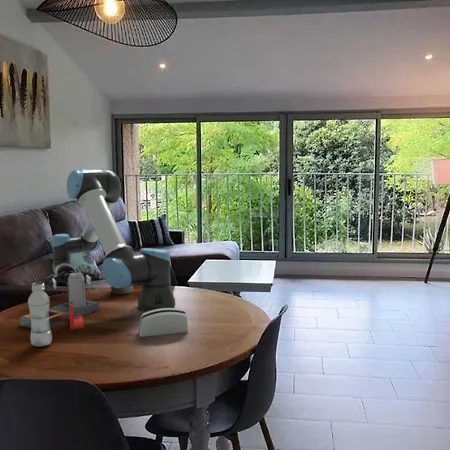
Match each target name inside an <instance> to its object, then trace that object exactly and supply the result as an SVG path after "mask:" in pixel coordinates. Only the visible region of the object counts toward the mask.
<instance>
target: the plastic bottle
mask: <svg viewBox="0 0 450 450" xmlns="http://www.w3.org/2000/svg"><path fill="white" fill-rule="evenodd" d="M45 290H46V289H45V285H44V282H34V283H32V284H31V291H32V292H31V294H30V295H29V297H28V300H27V302H28V303H27V304H28V308H29V314H31V328H30V329H31V330H30V339H29V340H30V344H31V345H32V346H33V347H37V348H38V347H39V348H40V347H46V346H49V345H50V344H51V343H52V340H53V334H52V329H51V327H50V324H49V308H50V304H51V303H50V301H51V300H50V296H49V295H48V294H47V292H45Z"/></svg>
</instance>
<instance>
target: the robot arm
mask: <svg viewBox="0 0 450 450" xmlns="http://www.w3.org/2000/svg"><path fill="white" fill-rule="evenodd" d="M66 193H67V195H68V198H70V199H72V200H76V201H77V203H78V205H79V206H80V207H82V208H84V209H85V211H86V213H87V215H88V216H87V217H88V218H87V221H86V224H85V225H84V228H83V230H82V232H81V235H80V236H73V237H70V235H69V233H57V234H54V235H53V236H52V238H51V239H52V243H51V244H52V245H51V246H52V256H53V257H52V271H53V273H50V275H47V276H46V277H45V278H44V279H43V283H44V286H49V288H52V287H53V289H57V283H64V284H68V278H69V276H70V274H71V273H83V274H82V275H83V276H84V281H86V283H87V285H89V286H92V282H93V281H95V276H96V275H95V273H91V272H86V271H83V270H80V271H79V272H78V271H76V270H75V269H74V268H73V266H72V265H71V255H73V254H79V253H87V252H88V253H90V252H94V251H98V250H99V249H100V248H101V247H102V249H103V252H104V254H105V255H104V258H103V262H102V265H101V270H102V276H103V278H104V280H105V282H106V283H107V284H108V285H109V286H110V287H111V286H112V287H114V288H126V287H128V286H133V287H134V286H137V285H141V286H140V287H141V288H140V290H139V291H140V292H139V294H138V299H137V301H136V305H137V306H136V307H137V309H139V310H142V311H146V312H149V311H152V310H156V309H162V308H175V307H176V299H175V295H174V293H173V289H172V287H171V255H170V252H169V251H168V250H167V249H162V248H154V247H153V248H152V247H151V248H150V247H149V248H148V247H147V248H146V247H143V248H140V250H139V253H135V252H134V251H135V250H134V249H133V248H132V246H130V245H127V244H126V242H125V239H124V238H123V236H122V233H121V231H120V229H119V226H118V225H117V222H116V220H115V218H114V216H113V214H112V212H111V211H112V209H113V206H114V204H116V203H117V202H118V201H119V199H120V197H121V194H122V183H121V180H120V178H119V176H118V175H117V173H115V172H113V171H112V170H111V169H107V168H99V169H98V168H96V169H81V168H80V169H74V170H72V171H70V173H69V175H68V176H67V179H66Z"/></svg>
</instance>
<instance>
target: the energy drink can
mask: <svg viewBox="0 0 450 450" xmlns="http://www.w3.org/2000/svg"><path fill="white" fill-rule="evenodd" d="M82 274H83V273H80V272H78V273H71V274H70V276H69V278H68V283H67V285H68V302H69V305H72V307H74V308H79V307H82V306H85V305H86V304H85V300H86V288H85V287H86V285H85V284H86V283H85V280H84V276H83V275H82Z"/></svg>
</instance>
